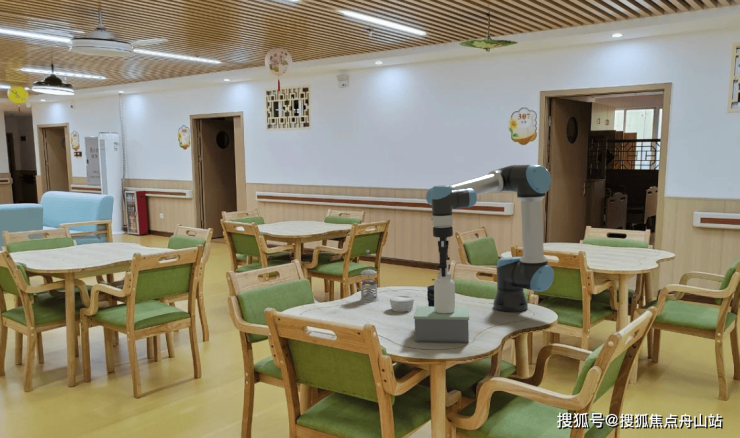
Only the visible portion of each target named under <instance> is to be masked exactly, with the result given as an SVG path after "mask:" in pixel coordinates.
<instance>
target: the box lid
mask: <svg viewBox="0 0 740 438" xmlns="http://www.w3.org/2000/svg"><path fill="white" fill-rule="evenodd" d="M415 319H447V320H468V321H469V320H470V307H469V306H455V311H454V312H453V313H447V314H443V313H437V312H435V310H434V307H428V305H427V306H424V305H423V306H418V305H417V306H416V308H415V311H414V315H413V320H415Z"/></svg>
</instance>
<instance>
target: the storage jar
mask: <svg viewBox="0 0 740 438" xmlns="http://www.w3.org/2000/svg"><path fill="white" fill-rule="evenodd" d="M431 281H436V280H435V279H434V278H432V279H431ZM426 289H427V292H426V293H427V294H426V296H427V298H426V300H427V301H428V302H427V303H428V304H427V307H434V284H433V285H429V286H427V288H426Z"/></svg>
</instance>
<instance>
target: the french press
mask: <svg viewBox="0 0 740 438" xmlns="http://www.w3.org/2000/svg"><path fill="white" fill-rule="evenodd" d="M365 253H367V254H369V253H370V250H369V249H366V250H365ZM376 274H377V271H376V270H374V269H370V268H369V266H367V269H364V270H362V271H360V275H357V277H355V281H354V283H355V284H354V285H355V287H356V289H357V290H358V291H360V294H361V297H360V299H359V301H360V302H361V303H376V302H378V301H380V298H379V297H378V284H377V282H376V281H377V280H376V279H374V278H370V276H372V275H376ZM362 275H363V276H368V277H367V279H362V280H361V282H362V283H361V284H360V287H361V288H359V287H358V286H357V281H358V279H359V277H360V278H362Z"/></svg>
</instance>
